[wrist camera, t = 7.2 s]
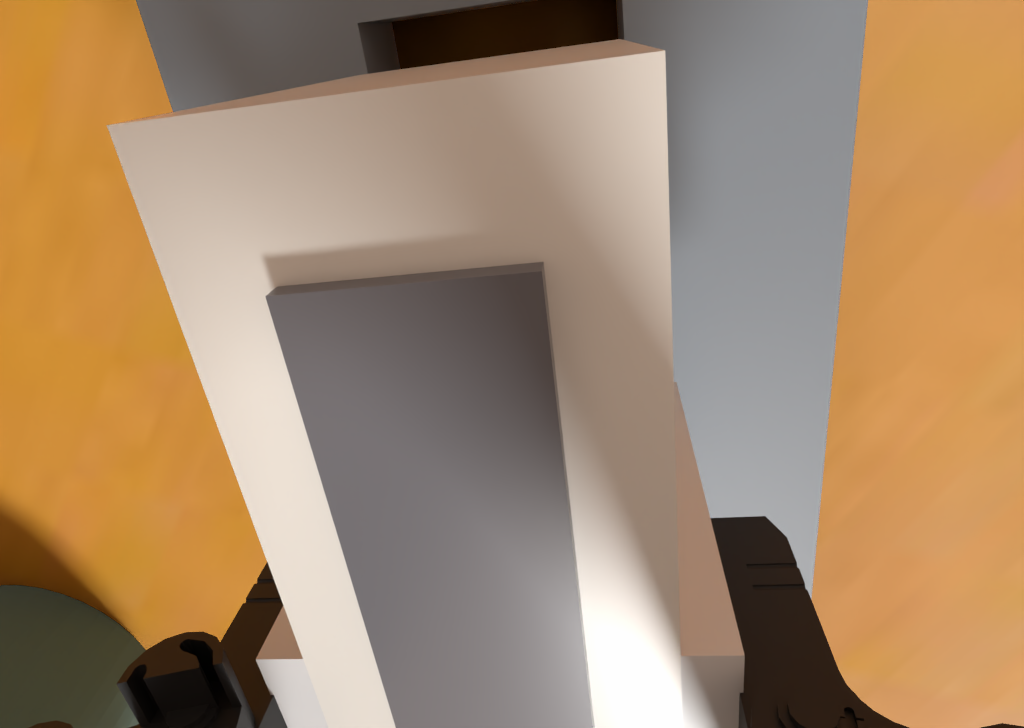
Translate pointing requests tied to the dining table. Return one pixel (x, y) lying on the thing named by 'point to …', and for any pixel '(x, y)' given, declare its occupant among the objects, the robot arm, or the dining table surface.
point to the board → (692, 197)
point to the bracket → (61, 661)
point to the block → (444, 375)
